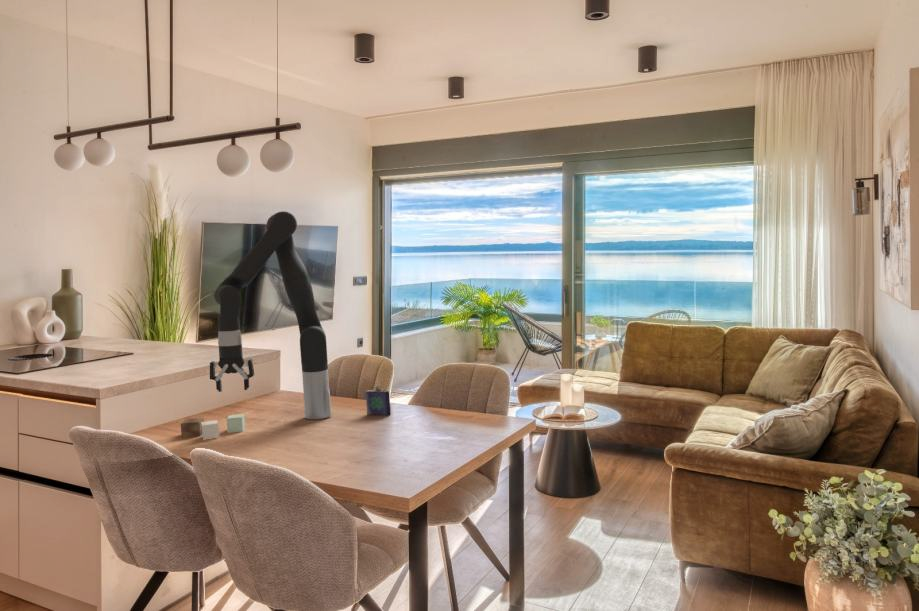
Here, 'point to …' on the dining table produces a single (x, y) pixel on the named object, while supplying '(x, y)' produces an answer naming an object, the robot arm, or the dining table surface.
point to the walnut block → (191, 427)
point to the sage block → (235, 423)
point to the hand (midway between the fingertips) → (233, 390)
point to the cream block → (210, 430)
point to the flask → (378, 402)
